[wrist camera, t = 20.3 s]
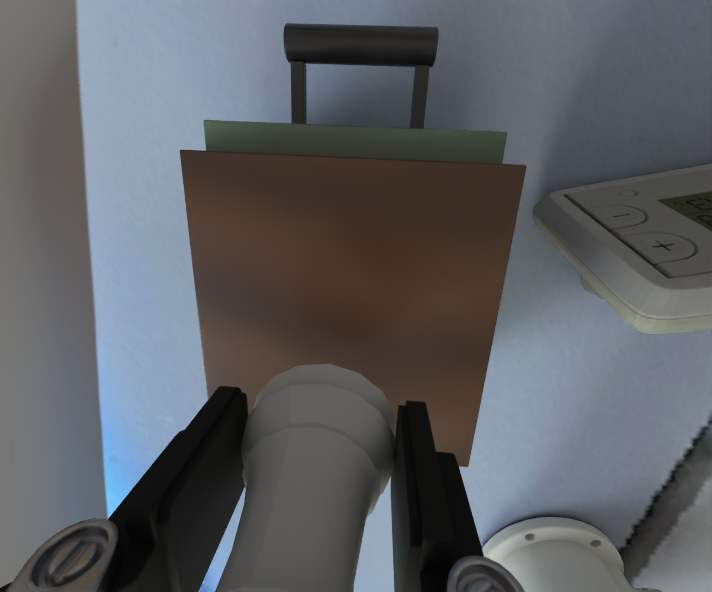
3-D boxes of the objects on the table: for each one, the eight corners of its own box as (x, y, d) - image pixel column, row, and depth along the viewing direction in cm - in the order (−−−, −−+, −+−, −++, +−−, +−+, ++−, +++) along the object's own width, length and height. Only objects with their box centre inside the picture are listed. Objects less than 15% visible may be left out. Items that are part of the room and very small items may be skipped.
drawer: (263, 61, 19) (190, -15, 12) (471, 68, 19) (532, -8, 11) (272, 334, 25) (227, 397, 17) (434, 346, 24) (458, 416, 17)
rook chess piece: (234, 372, 10) (-168, 902, 3) (375, 339, 10) (362, 917, 2) (284, 482, 12) (108, 1049, 4) (411, 459, 11) (486, 1087, 3)
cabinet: (262, 164, 22) (178, 149, 13) (464, 173, 21) (527, 165, 12) (269, 355, 26) (212, 445, 17) (436, 367, 26) (468, 467, 17)
